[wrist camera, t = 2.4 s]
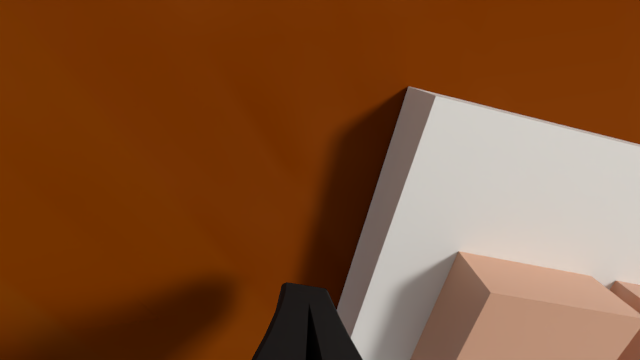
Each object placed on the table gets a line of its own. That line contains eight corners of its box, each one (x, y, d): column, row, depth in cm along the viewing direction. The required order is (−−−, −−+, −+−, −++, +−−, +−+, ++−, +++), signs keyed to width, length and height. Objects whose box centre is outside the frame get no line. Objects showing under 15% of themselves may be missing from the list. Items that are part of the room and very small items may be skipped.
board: (591, 412, 18) (634, 465, 16) (314, 378, 16) (317, 433, 14) (770, 177, 13) (868, 204, 11) (408, 86, 11) (435, 95, 9)
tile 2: (526, 378, 13) (563, 431, 11) (408, 362, 13) (427, 416, 11) (590, 275, 12) (647, 319, 10) (458, 251, 11) (491, 292, 9)
